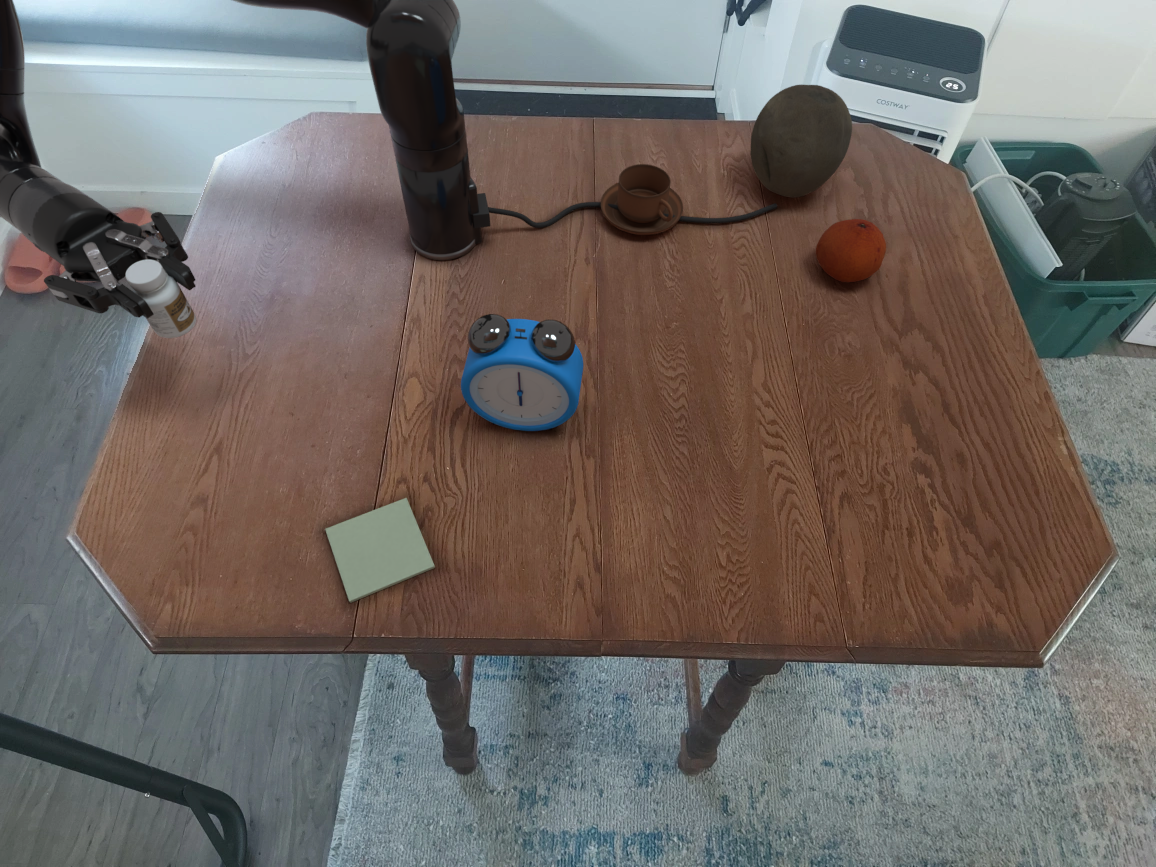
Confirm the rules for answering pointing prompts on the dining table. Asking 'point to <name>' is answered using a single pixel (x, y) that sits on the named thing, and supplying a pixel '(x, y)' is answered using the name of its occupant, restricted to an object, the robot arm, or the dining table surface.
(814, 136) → the kiwi
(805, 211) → the dining table surface
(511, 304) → the dining table surface
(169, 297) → the pill bottle
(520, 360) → the alarm clock
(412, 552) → the coaster
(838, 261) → the fruit
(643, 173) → the cup and saucer
